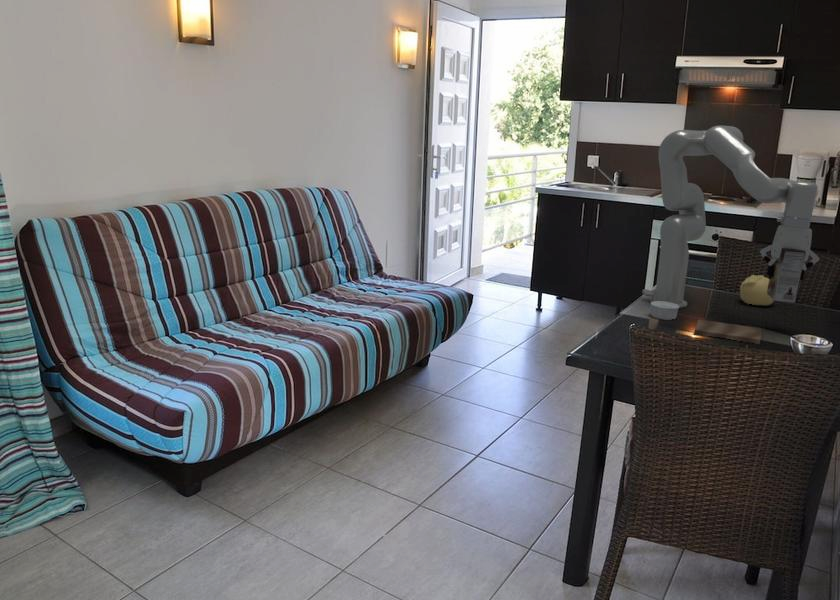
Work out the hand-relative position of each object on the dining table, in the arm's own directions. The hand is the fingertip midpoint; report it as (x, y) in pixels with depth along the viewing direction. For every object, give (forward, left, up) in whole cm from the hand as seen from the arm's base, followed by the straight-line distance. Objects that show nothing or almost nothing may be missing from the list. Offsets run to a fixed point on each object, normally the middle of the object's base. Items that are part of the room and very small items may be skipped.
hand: (784, 279), depth 214 cm
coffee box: (0, 0, -6) cm, 6 cm away
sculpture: (-6, +36, -17) cm, 40 cm away
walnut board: (-13, -13, -16) cm, 25 cm away
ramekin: (-33, -3, -17) cm, 37 cm away
